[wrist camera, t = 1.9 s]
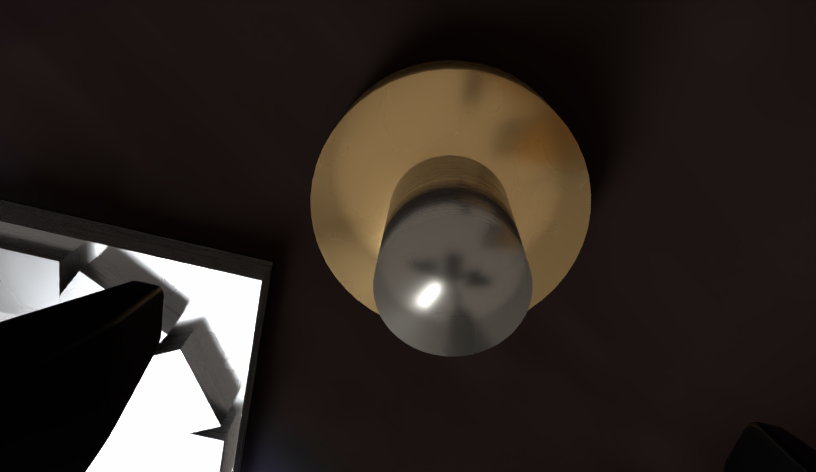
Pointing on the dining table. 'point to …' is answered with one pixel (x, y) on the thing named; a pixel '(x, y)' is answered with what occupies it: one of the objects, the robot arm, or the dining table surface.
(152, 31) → the dining table surface
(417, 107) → the gear
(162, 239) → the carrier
